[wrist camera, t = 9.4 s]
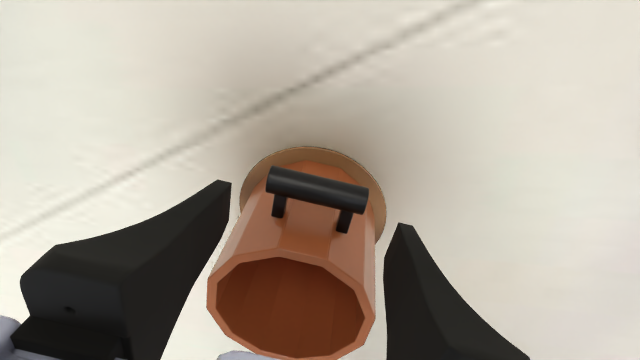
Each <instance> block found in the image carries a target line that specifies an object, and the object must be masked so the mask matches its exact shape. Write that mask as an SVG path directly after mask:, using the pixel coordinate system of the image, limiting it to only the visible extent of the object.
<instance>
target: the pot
mask: <svg viewBox="0 0 640 360" xmlns="http://www.w3.org/2000/svg"><path fill="white" fill-rule="evenodd" d="M206 308H207V310H208V311H209V313H210V314H211V315H212V317H213V318H214V320H215V321H216V323H217V324H218V325H219V327H220V328H221V330H222V331H223V332H224V334H225V335H226V336H227V337H229V338H231V339H232V340H234V341H236V342H237V343H239V344H241V345H242V346H244V347H246V348H247V349H249V350H251V351H252V352H254V353H256V354H259V355H263V356H267V357H271V358H276V359H280V360H337V359H339V358H341V357H342V356H344V355H346V354H348V353H350V352H352V351H354V350H355V349H357V348H359V347H361V346H363V345H364V343H365V341H366V339H367V336H368V334H369V332H370V330H371V327H372V325H373V323H374V321H375V319H376V318H375V317H376V313H375V219H374V213H373V210H372V207H371V204H370V201H369V188H368V187H363V186H361V185H360V184H359V183H358V182H356V181H355V180H354V179H353V178H352V177H350V176H349V175H348V174H347V173H346V172H345V171H343V170H342V169H340V168H338V167H334V166H330V165H325V164H321V163H317V162H313V161H308V160H304V161H300V162H296V163H292V164H287V165H283V166H274V165H272V166H271V168H270V170H269V173H268V174H267V175H266V176H265V177H264V178H263V179H262V180H261V181H260V182H259V183H258V184H257V185H256V186H255V187H254V189H253V191H252V193H251V195H250V197H249V199H248V201H247V203H246V205H245V207H244V209H243V211H242V213H241V215H240V217H239V218H238V220H237V222H236V224H235V226H234V228H233V230H232V232H231V234H230V236H229V238H228V240H227V242H226V244H225V246H224V248H223V250H222V252H221V254H220V256H219V258H218V260H217V262H216V264H215V266H214V267H213V269H212V271H211V273H210V275H209V277H208V282H207V306H206Z"/></svg>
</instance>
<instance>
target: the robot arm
mask: <svg viewBox="0 0 640 360" xmlns="http://www.w3.org/2000/svg"><path fill="white" fill-rule="evenodd" d="M231 185H232V183H230V182H226V181H221V180H216V181H214V182H213V183H211V184H210V185H208V186H207V187H205V188H204V189H202V190H201V191H199V192H197V193H196V194H194V195H193V196H191V197H189V198H188V199H186V200H185V201H183V202H181V203H180V204H178V205H176V206H174V207H172V208H170V209H169V210H167V211H165V212H163V213H161V214H159V215H157V216H155V217H152V218H150V219H148V220H145V221H143V222H140V223H138V224H135V225H132V226H129V227H127V228H124V229H121V230H118V231H115V232H111V233H108V234H104V235H101V236H97V237H93V238H89V239H84V240H79V241H74V242H69V243H64V244H58V245H55V246H54V247H52V248H51V249H50V250H49V251H48V252H46V253H45V254H44V255H43V256H42V257H41V258H40V259H39V260H38V261H37V262H36V263H34V264H33V265H32V266H31V267H30V268H29V269H28V270H27V271H26V272H25V273H24V274H23V275H22V276H21V279H20V287H21V292H22V294H23V297H24V300H25V302H26V305H27V308H28V310H29V313H30V316H29V317H28V318H27V319H26V320H25V321H24V323H23V324H22V325H21V324H20V323H19V322H18V321H17V320H15V319H12V318H10V317H5V316H1V315H0V360H160V359H161V357H162V354H163V352H164V349H165V347H166V345H167V342H168V340H169V338H170V335H171V333H172V330H173V328H174V326H175V324H176V321H177V319H178V317H179V315H180V312H181V310H182V308H183V306H184V304H185V302H186V299H187V297H188V295H189V293H190V291H191V289H192V287H193V285H194V283H195V281H196V280H197V278H198V276H199V275H200V273H201V271H202V270H203V268H204V266H205V265H206V263H207V262H208V260H209V258H210V257H211V255H212V253H213V252H214V250H215V248H216V246H217V245H218V243H219V241H220V239H221V237H222V235H223V233H224V230H225V228H226V226H227V223H228V221H229V210H230V198H231ZM383 283H384V297H385V309H386V322H387V360H530V358H529V357H528V356H527V355H526V354H525V353H523V352H522V351H521V350H519V349H518V348H517V347H515V346H514V345H513V344H511V343H510V342H509V341H507V340H506V339H505V338H504V337H502V336H501V335H500V334H499V333H498V332H497V331H496V330H494V329H493V328H492V327H491V326H490V325H489V324H488V323H486V322H485V321H484V320H483V319H482V318H481V317H480V316H479V315H478V314H477V313H476V312H475V311H474V310H473V309H472V308H471V307H470V306H469V305H468V304H467V303H466V302H465V301H464V299H463V298H462V297H461V296H460V295H459V294H458V292H457V291H456V290H455V289H454V288H453V287H452V285H451V284H450V283H449V281H448V280H447V279H446V277H445V276H444V275H443V273H442V272H441V271H440V269H439V268H438V266H437V265H436V263H435V262H434V260H433V259H432V257H431V256H430V254H429V252H428V251H427V249H426V247H425V246H424V244H423V242H422V241H421V239H420V237H419V235H418V234H417V232H416V230H415V229H414V227H413V226H411V225H407V224H403V223H398V225H397V228H396V230H395V233H394V235H393V237H392V240H391V242H390V245H389V247H388V250H387V252H386V255H385V257H384V272H383ZM217 360H280V359H276V358H271V357H267V356H263V355H259V354H255V353H250V352H245V351H230V352H227V353H224V354H221V355H219V357H218V358H217Z"/></svg>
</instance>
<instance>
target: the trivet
mask: <svg viewBox="0 0 640 360" xmlns="http://www.w3.org/2000/svg"><path fill="white" fill-rule="evenodd" d="M304 160H308V161H313V162H317V163H321V164H325V165H330V166H334V167H338V168H340V169H342V170H343V171H345V172H346V173H347V174H348V175H349V176H350V177H352V178H353V179H354V180H355V181H356V182H358V183H359V184H360V185H361V186H363V187H368V188H369V201H370V204H371V207H372V210H373V213H374V219H375V244H376V243H377V241H378V240H379V238H380V237H381V234H382V232H383V230H384V226H385V222H386V205H385V200H384V196H383V194H382V191H381V189H380V187H379V185H378V184H377V182H376V181H375V179H374V178H373V177H372V175H371V174H370V173H369V172H368V171H367V170H366V169H365V168H364V167H362V166H361V165H360V164H358V163H357V162H356V161H354V160H352V159H351V158H349V157H347V156H345V155H343V154H340V153H338V152H335V151H332V150H328V149H324V148H318V147H294V148H289V149H284V150H281V151H278V152H275V153H273V154H271V155H269V156H267V157H266V158H264V159H263V160H261V161H260V162H259V163H258V164H257V165H256V166H254V167H253V169H252V170H251V171H250V172H249V174H248V175H247V177H246V179H245V181H244V183H243V186H242V188H241V193H240V211H241V213H242V211H243V209H244V207H245V205H246V203H247V201H248V199H249V197H250V195H251V193H252V191H253V189H254V187H255V186H256V185H257V184H258V183H259V182H260V181H261V180H262V179H263V178H264V177H265V176H266V175H267V174H268V173H269V170H270V168H271V166H272V165H274V166H283V165H287V164H292V163H296V162H300V161H304Z"/></svg>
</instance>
